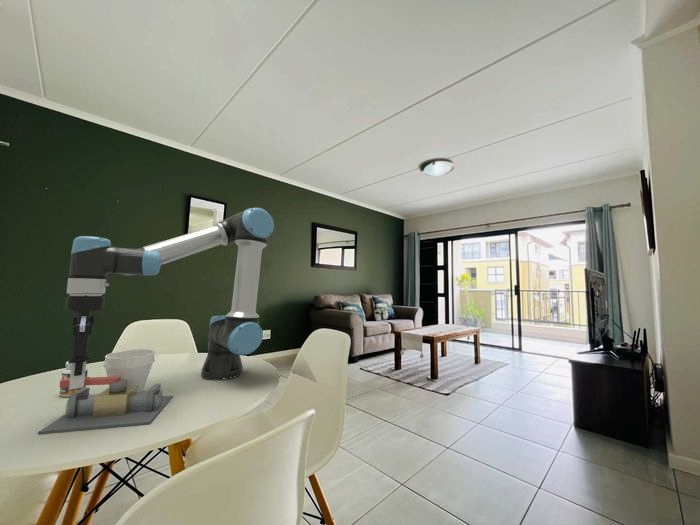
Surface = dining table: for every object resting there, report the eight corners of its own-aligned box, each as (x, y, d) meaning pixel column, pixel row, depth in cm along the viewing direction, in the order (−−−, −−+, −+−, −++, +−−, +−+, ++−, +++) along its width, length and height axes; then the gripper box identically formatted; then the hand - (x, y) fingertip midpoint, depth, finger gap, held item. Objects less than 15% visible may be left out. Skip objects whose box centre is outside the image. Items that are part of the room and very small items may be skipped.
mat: (173, 397, 87) (173, 395, 87) (149, 424, 70) (150, 421, 70) (86, 403, 81) (86, 400, 81) (37, 434, 64) (38, 431, 64)
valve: (163, 402, 82) (165, 382, 82) (153, 412, 75) (155, 390, 76) (78, 408, 76) (81, 387, 77) (60, 420, 69) (63, 396, 70)
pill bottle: (68, 398, 84) (73, 364, 85) (54, 396, 85) (58, 362, 86) (89, 391, 89) (93, 359, 90) (75, 390, 90) (79, 358, 91)
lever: (129, 387, 78) (130, 374, 79) (122, 391, 75) (123, 378, 75) (67, 389, 75) (68, 377, 75) (56, 394, 71) (58, 381, 72)
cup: (140, 406, 80) (144, 357, 82) (89, 409, 78) (94, 359, 79) (158, 391, 92) (162, 348, 94) (114, 393, 89) (119, 349, 91)
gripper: (105, 295, 72) (95, 391, 70) (104, 294, 82) (96, 378, 79) (64, 295, 67) (52, 398, 65) (68, 294, 77) (58, 384, 74)
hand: (76, 387), depth 72 cm, fingers closed
